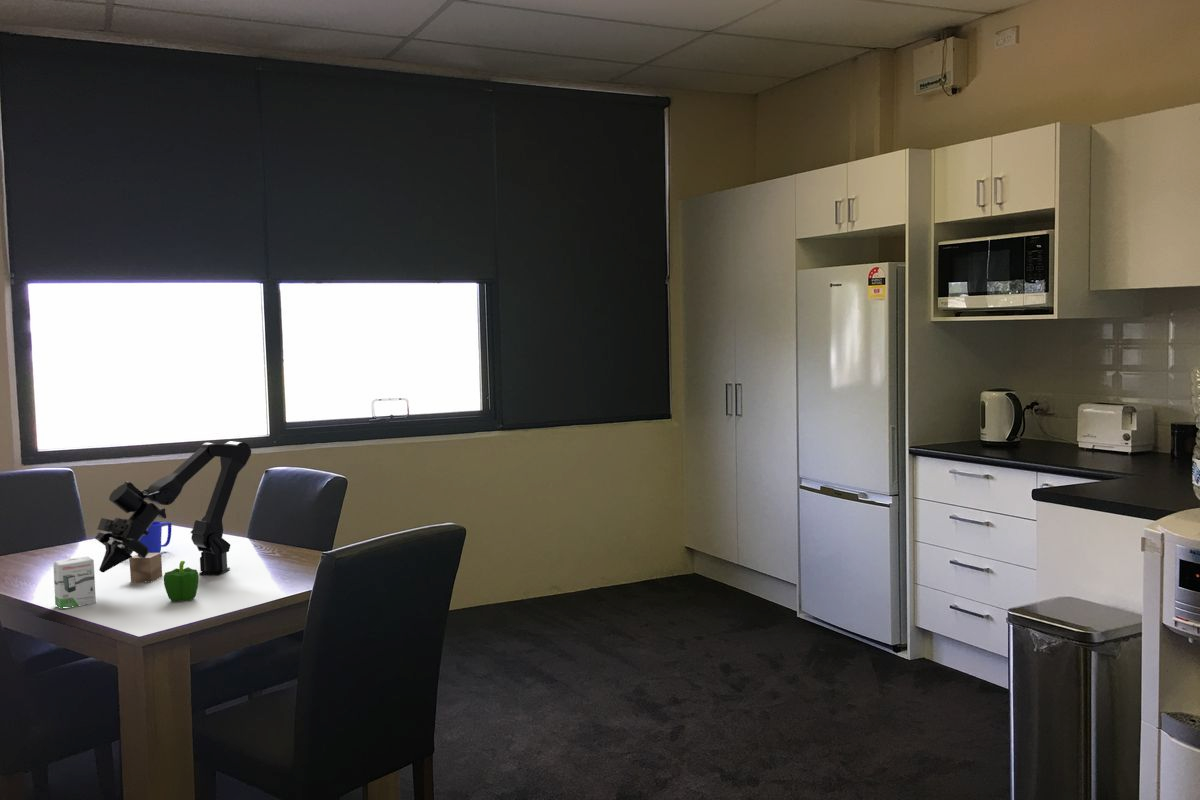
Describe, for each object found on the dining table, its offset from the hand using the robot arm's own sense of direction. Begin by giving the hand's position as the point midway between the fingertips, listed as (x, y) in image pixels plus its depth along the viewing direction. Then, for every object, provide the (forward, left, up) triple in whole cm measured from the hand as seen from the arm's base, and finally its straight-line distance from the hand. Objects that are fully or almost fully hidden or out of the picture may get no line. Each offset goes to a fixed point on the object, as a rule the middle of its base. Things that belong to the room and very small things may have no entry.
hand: (101, 571), depth 256 cm
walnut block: (-1, -19, -7) cm, 21 cm away
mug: (+13, -50, -8) cm, 52 cm away
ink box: (+4, +6, -8) cm, 10 cm away
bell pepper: (-23, +1, -8) cm, 24 cm away
